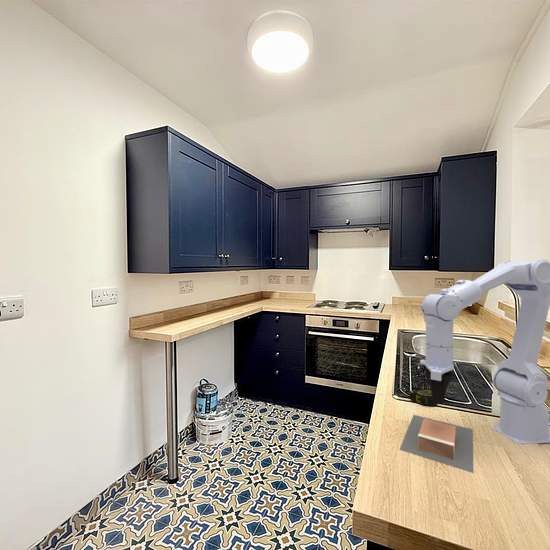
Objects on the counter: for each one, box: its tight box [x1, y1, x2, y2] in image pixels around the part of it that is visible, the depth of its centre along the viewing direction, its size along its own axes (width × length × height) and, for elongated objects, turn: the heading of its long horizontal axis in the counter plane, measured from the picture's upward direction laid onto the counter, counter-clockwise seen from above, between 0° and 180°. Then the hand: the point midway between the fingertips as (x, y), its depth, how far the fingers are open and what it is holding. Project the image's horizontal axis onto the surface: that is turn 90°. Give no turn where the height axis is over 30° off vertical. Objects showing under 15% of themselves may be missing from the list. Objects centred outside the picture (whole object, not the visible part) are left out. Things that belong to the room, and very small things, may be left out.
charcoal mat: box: [399, 414, 474, 474], centre depth 72 cm, size 20×14×1 cm
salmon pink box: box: [418, 419, 456, 460], centre depth 70 cm, size 3×7×10 cm
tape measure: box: [408, 388, 439, 407], centre depth 92 cm, size 7×7×4 cm
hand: (438, 401), depth 71 cm, fingers closed
